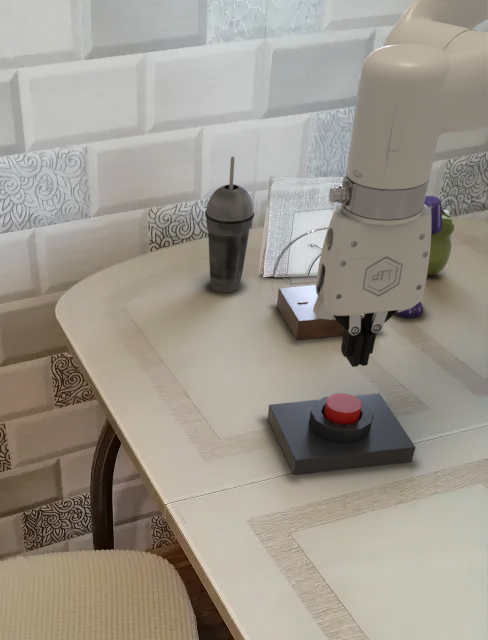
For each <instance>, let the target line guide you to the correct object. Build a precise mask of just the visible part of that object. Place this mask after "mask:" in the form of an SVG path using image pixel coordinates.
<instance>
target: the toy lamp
mask: <svg viewBox="0 0 488 640" xmlns="http://www.w3.org/2000/svg"><path fill="white" fill-rule="evenodd" d="M424 204H425V205H427V206H428V207H429V208H430V209H431V221H432V223H431V235H433V234H437V233H439V232H440V231H441V230H442V210H443V208H442V207H443V206H442V201H441V199H440V197H437V196H434V195H426V197H425V202H424ZM423 313H424V306H423V304H422V302H421V301H420V302H419V303H418V304H416V305H415V306H414V307H413V308H411V309H408V310H405V311H402V312H399V313H398V312H396V313H395V314H394V315H396V316H399V317H401V318H406V319H407V318H408V319H415V318H418V317H420V316H421V315H422V314H423Z"/></svg>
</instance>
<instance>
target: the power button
mask: <svg viewBox="0 0 488 640" xmlns="http://www.w3.org/2000/svg"><path fill="white" fill-rule="evenodd" d="M355 396H356V395H353V394H350V393H345V392H344V393H343V392H338V393H333V394H330V395H329V396H327V397H328V398H327V400H326V404H325V410H324V416H325V418H326V419H328V420H329V421H331V422H333V423H338V424H343V425H345V424H354V423H356V422H357V421H358V420H359V416H360V411H361V407H362V404H361V401H360V400H359V399H358V398H357V397H355Z"/></svg>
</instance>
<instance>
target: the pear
mask: <svg viewBox="0 0 488 640" xmlns="http://www.w3.org/2000/svg"><path fill="white" fill-rule="evenodd" d="M454 231H455V225H454V223H453V220H452V217H451V212H450V211H449V210H448V209H442V230H441V231H440V232H439V233H437V234H433V235H431V247H430V257H429V265H428V272H427V276H433V275H436V274H437V275H438V273H440V272H442V271H443V270H444V269H445V267H446V266H447V265H448V262H449V260H450V256H451V251H452V240H451V239H452V238H451V237H452V234H453V232H454Z"/></svg>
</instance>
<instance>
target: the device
mask: <svg viewBox="0 0 488 640" xmlns="http://www.w3.org/2000/svg"><path fill="white" fill-rule="evenodd" d="M354 396H355V397H357V398H358V399H359V400H360V401H361V404H362V407H361V411H360V416H359V420H358V421H357V422H356V423H354V424H345V425H343V424H338V423H333V422H331V421H329V420H328V419H326V418H325V416H324V410H325V404H326V400H327V398H328V397H329V396H323V397H322V398H320V399H311V400H300V401H291V402H290V401H289V402H282V403H281V402H280V403H273V404H268V411H267V422H268V424H269V425H270V428H271V429H272V432H273V434H274V436H275V439H276V440H277V443H278V445H279V447H280V449H281V451H282V454H283V457H284V459H285V460H286V462H287V464H288V466H289V468H290V471H291V473H292V475H293V476H298V475H305V474H306V475H307V474H315V473H324V472H333V471H341V470H343V471H344V470H351V469H360V468H368V467H378V466H386V465H396V464H404V463H412V462H413V459H414V456H415V453H416V452H415V451H416V445H415V444H414V442H413V440H411V438H410V437H409V435H408V433H407V432H406V430H405V429H404V427H403V426H402V424H401V423H400V422H399V420H398V419H397V417H396V415H395V414H394V413H393V411H392V410H391V408H390V406H389V405H388V404H387V402H386V401H385V399H384V398H383V396H382V395H381V393H380V392H379V393H370V394H369V393H368V394H359V395H358V394H357V395H354Z"/></svg>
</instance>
